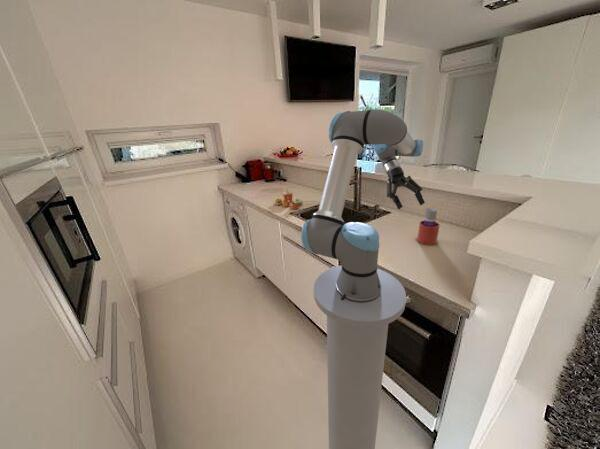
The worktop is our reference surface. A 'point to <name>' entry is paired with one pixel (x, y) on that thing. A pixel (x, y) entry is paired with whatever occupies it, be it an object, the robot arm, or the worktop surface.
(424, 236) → the cup
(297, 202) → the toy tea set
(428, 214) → the container
